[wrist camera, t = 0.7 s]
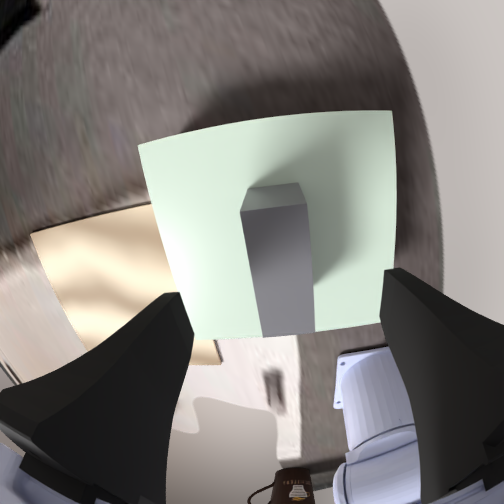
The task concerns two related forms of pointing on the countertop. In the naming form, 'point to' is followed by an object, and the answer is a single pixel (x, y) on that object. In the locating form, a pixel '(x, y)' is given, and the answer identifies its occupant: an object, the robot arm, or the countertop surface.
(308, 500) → the coffee mug
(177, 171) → the lid
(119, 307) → the mat
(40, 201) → the countertop surface
